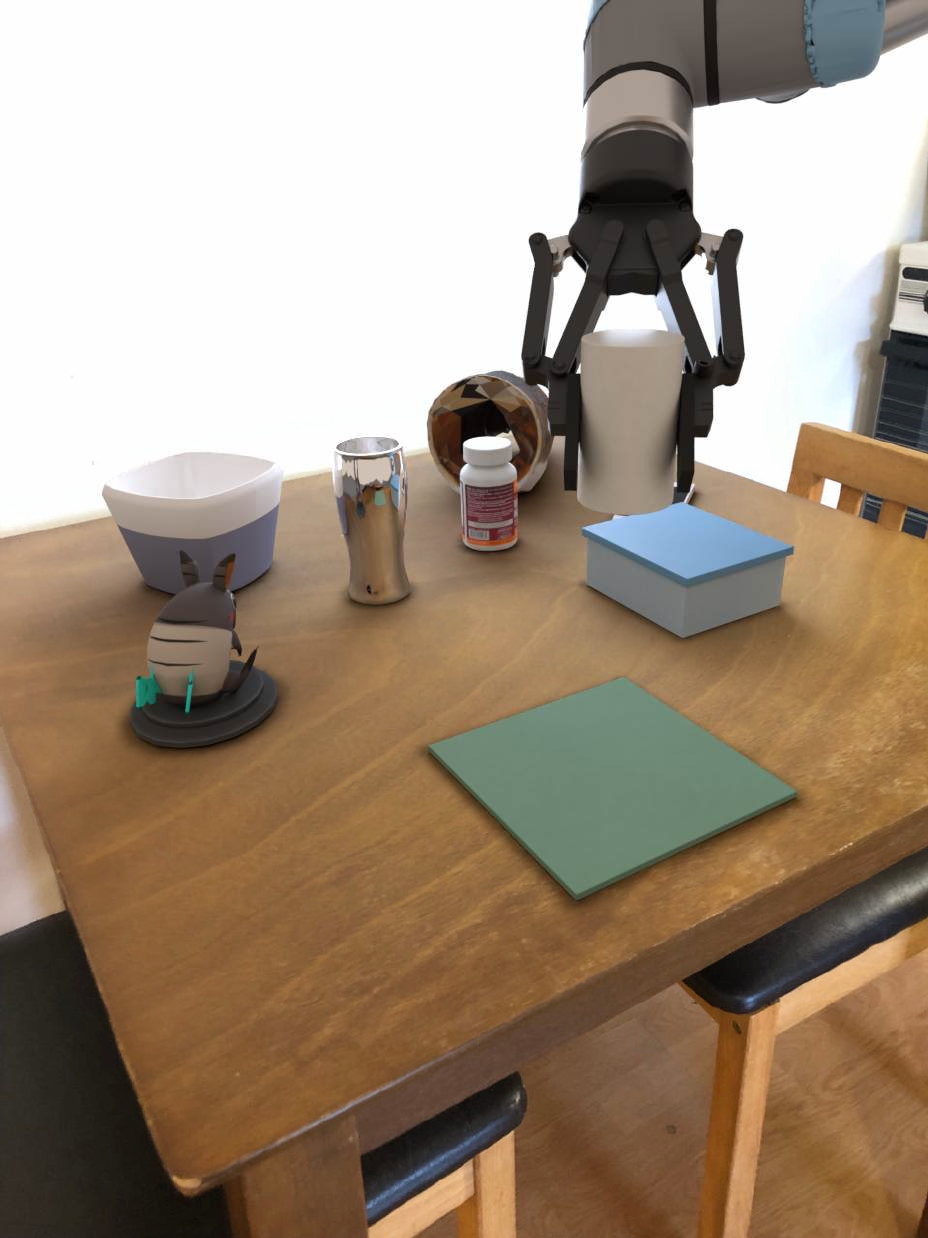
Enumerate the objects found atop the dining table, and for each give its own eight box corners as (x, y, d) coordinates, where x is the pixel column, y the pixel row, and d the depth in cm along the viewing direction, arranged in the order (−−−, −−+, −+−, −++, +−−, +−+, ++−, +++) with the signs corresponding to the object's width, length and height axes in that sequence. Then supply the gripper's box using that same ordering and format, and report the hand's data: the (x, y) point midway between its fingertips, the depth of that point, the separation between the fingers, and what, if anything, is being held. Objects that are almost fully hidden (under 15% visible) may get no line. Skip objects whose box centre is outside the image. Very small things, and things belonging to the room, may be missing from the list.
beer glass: (360, 575, 97) (347, 432, 90) (423, 581, 95) (415, 436, 88) (333, 603, 91) (317, 453, 84) (400, 610, 89) (389, 457, 82)
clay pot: (573, 363, 131) (538, 364, 108) (581, 472, 135) (550, 496, 112) (472, 375, 136) (418, 378, 112) (482, 480, 139) (432, 505, 116)
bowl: (201, 539, 107) (185, 445, 102) (312, 559, 101) (301, 459, 96) (101, 591, 95) (77, 487, 90) (220, 617, 89) (202, 506, 84)
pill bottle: (527, 546, 102) (527, 445, 97) (476, 556, 100) (474, 454, 95) (502, 528, 107) (500, 431, 102) (453, 538, 105) (449, 440, 100)
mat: (796, 797, 62) (797, 791, 61) (576, 901, 54) (576, 894, 54) (623, 681, 76) (623, 676, 75) (428, 751, 68) (428, 745, 68)
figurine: (100, 741, 70) (66, 601, 65) (179, 665, 81) (154, 538, 75) (239, 757, 68) (214, 612, 63) (301, 676, 78) (285, 546, 73)
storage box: (786, 606, 87) (794, 546, 84) (682, 641, 81) (687, 578, 79) (678, 555, 99) (682, 501, 96) (580, 583, 93) (581, 527, 90)
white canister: (693, 502, 58) (706, 338, 54) (616, 522, 56) (624, 351, 51) (631, 478, 63) (639, 325, 59) (558, 495, 60) (561, 336, 56)
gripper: (772, 206, 64) (781, 511, 57) (498, 212, 67) (474, 505, 60) (795, 116, 57) (809, 452, 50) (488, 128, 60) (460, 448, 53)
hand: (627, 480), depth 55 cm, fingers closed on white canister, 6 cm apart
